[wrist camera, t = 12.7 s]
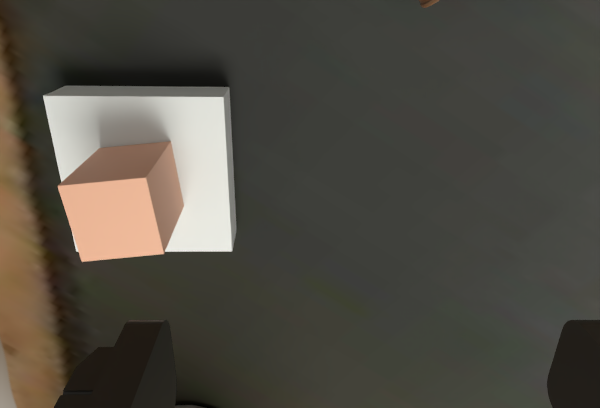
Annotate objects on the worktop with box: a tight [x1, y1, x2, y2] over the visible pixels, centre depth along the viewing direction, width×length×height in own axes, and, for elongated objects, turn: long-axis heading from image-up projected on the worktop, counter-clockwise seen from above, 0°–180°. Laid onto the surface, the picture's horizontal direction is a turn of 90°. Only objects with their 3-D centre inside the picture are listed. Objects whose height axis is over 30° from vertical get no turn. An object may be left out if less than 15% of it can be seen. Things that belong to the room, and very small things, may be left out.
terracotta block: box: [58, 141, 184, 262], centre depth 31 cm, size 5×5×7 cm
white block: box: [43, 86, 236, 252], centre depth 36 cm, size 12×12×4 cm
